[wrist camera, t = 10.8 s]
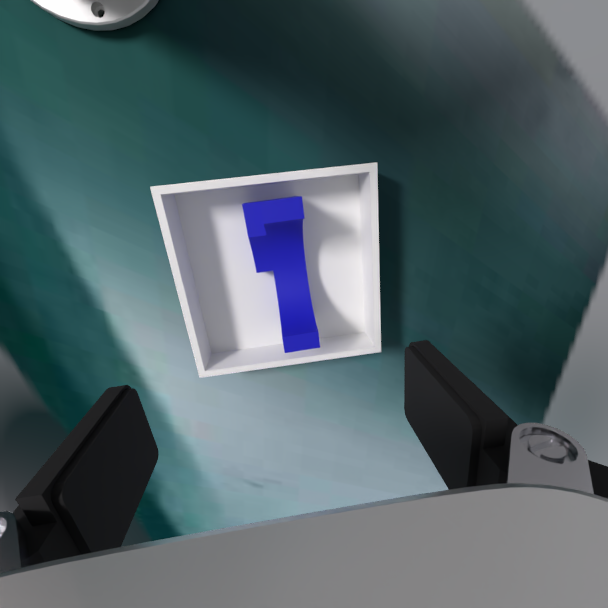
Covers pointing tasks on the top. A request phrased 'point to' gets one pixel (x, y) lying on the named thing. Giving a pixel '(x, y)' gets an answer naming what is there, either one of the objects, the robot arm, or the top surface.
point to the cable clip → (284, 265)
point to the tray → (261, 286)
